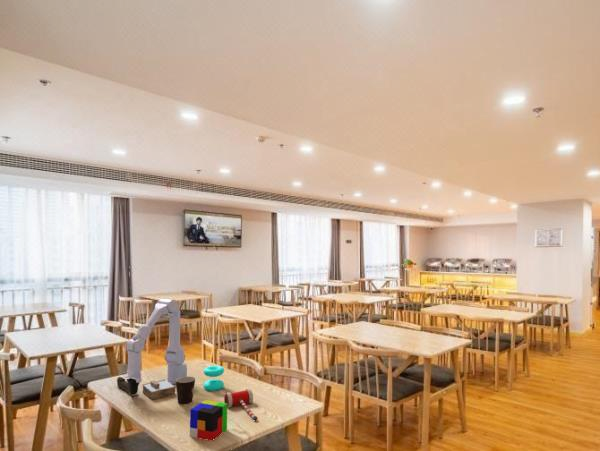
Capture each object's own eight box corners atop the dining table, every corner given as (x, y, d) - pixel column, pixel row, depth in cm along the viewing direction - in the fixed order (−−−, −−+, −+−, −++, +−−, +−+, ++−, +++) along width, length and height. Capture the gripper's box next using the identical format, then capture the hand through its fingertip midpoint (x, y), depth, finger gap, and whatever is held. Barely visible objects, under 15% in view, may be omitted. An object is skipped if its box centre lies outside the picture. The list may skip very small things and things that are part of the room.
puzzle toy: (189, 436, 151) (190, 409, 152) (205, 425, 160) (205, 399, 161) (212, 441, 147) (213, 413, 148) (226, 429, 157) (227, 403, 157)
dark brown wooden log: (138, 394, 193) (138, 384, 194) (129, 396, 191) (130, 386, 191) (123, 384, 207) (123, 375, 207) (115, 386, 204) (115, 376, 204)
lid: (165, 381, 202) (165, 376, 202) (174, 387, 193) (175, 382, 194) (143, 386, 195) (143, 380, 195) (152, 393, 186) (152, 387, 186)
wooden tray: (164, 387, 203) (164, 379, 203) (175, 394, 193) (175, 386, 193) (142, 392, 195) (142, 384, 196) (152, 400, 186) (152, 391, 186)
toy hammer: (268, 419, 167) (269, 403, 168) (242, 425, 162) (242, 408, 162) (247, 400, 187) (248, 386, 188) (223, 405, 181) (223, 390, 182)
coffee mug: (184, 396, 190) (184, 375, 191) (198, 400, 186) (199, 378, 187) (166, 405, 180) (166, 382, 180) (181, 409, 176) (181, 385, 176)
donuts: (222, 371, 198) (201, 371, 197) (222, 391, 197) (201, 391, 197) (225, 365, 208) (206, 365, 207) (225, 384, 207) (205, 384, 207)
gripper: (120, 363, 194) (119, 391, 193) (130, 370, 183) (129, 400, 182) (135, 360, 199) (134, 388, 198) (146, 367, 188) (145, 396, 187)
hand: (133, 394), depth 191 cm, fingers closed
